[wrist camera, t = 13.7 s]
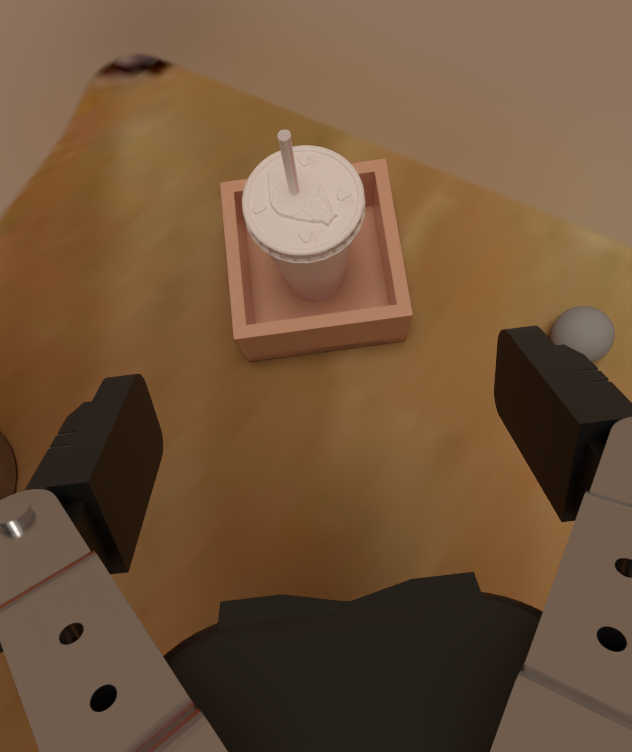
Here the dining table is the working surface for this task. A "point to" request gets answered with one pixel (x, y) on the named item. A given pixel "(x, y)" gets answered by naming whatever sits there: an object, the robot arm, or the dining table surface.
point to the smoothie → (305, 215)
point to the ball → (584, 331)
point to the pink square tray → (334, 315)
